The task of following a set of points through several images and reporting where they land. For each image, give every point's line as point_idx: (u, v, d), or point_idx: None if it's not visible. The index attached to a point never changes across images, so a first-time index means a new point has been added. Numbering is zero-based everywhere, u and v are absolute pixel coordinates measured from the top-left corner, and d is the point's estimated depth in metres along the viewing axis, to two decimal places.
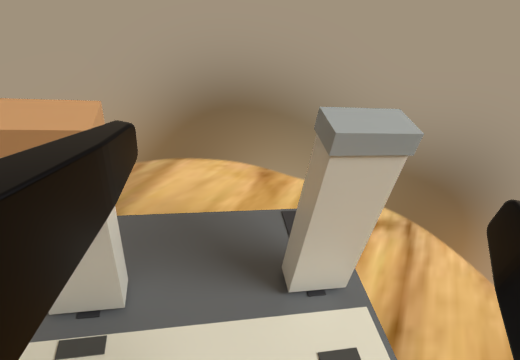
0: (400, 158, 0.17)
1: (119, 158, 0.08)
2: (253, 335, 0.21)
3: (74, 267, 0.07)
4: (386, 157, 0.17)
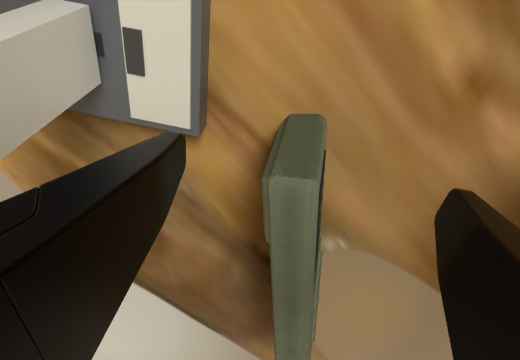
0: None
1: (173, 169, 0.08)
2: None
3: (132, 280, 0.07)
4: None
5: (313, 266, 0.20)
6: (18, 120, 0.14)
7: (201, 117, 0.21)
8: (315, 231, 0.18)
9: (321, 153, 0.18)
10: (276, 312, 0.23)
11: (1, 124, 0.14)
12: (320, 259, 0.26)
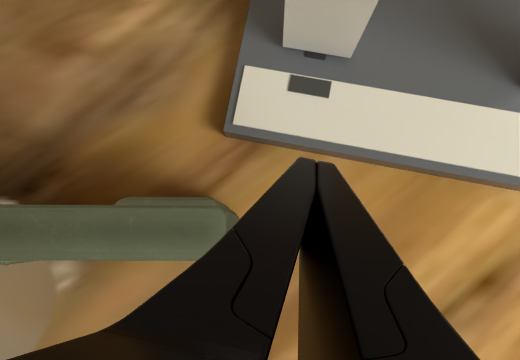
0: None
1: None
2: (469, 122, 0.20)
3: None
4: None
5: (85, 259, 0.16)
6: None
7: (242, 136, 0.21)
8: (146, 259, 0.16)
9: None
10: None
11: None
12: None
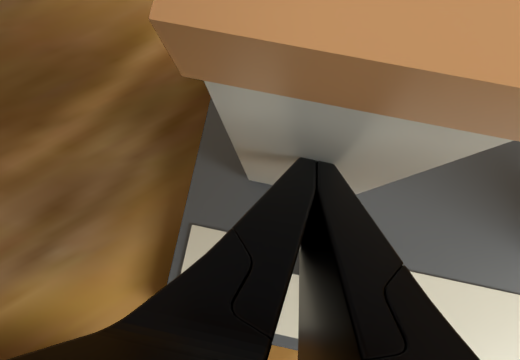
0: None
1: None
2: (503, 317, 0.14)
3: None
4: None
5: None
6: (272, 157, 0.09)
7: None
8: None
9: None
10: None
11: (284, 153, 0.08)
12: None
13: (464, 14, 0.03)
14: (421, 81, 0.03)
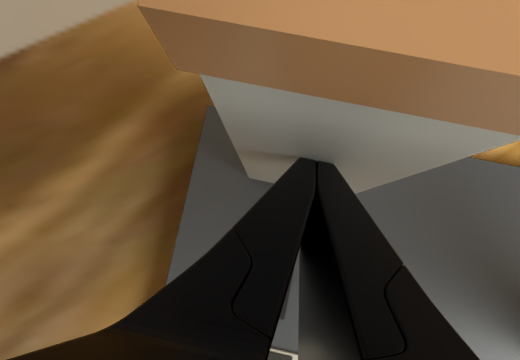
0: None
1: None
2: None
3: None
4: None
5: None
6: (272, 155, 0.09)
7: None
8: None
9: None
10: None
11: (285, 151, 0.08)
12: None
13: None
14: (433, 73, 0.03)
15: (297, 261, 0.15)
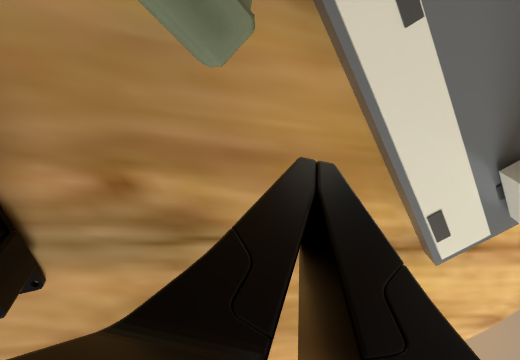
0: None
1: None
2: (448, 156, 0.21)
3: None
4: None
5: None
6: None
7: None
8: None
9: None
10: None
11: None
12: None
13: None
14: None
15: None
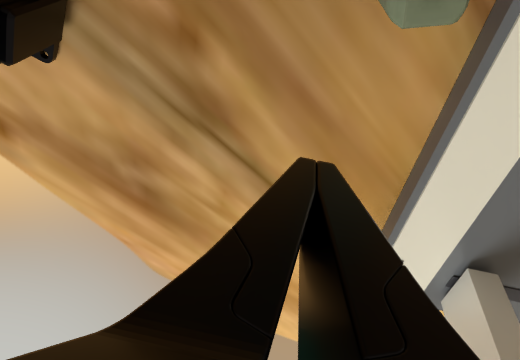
0: None
1: None
2: (448, 230, 0.22)
3: None
4: None
5: None
6: None
7: None
8: None
9: None
10: None
11: None
12: None
13: None
14: None
15: None
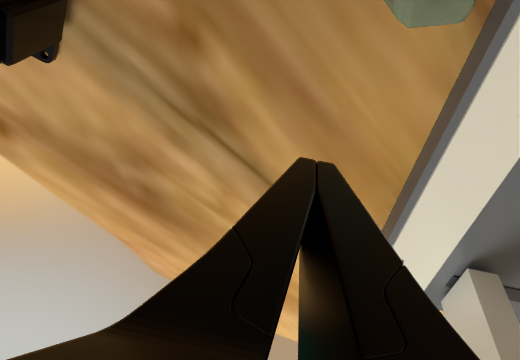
0: None
1: None
2: (448, 230, 0.22)
3: None
4: None
5: None
6: None
7: None
8: None
9: None
10: None
11: None
12: None
13: None
14: None
15: None
